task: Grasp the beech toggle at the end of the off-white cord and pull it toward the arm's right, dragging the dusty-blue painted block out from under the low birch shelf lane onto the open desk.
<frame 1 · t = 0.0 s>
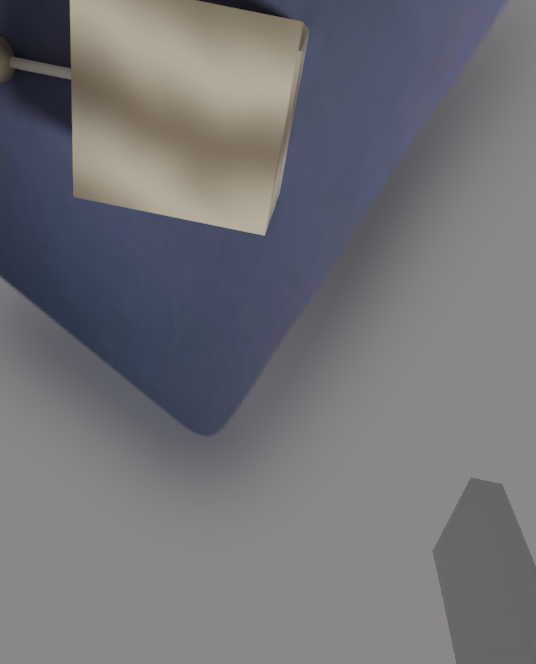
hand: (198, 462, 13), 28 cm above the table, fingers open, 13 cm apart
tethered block: (220, 103, 34), on the table, touching shelf lane
shelf lane: (214, 102, 34), on the table
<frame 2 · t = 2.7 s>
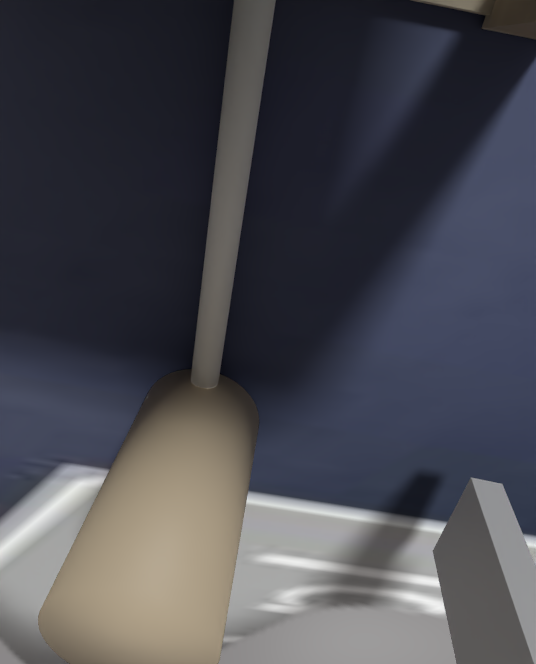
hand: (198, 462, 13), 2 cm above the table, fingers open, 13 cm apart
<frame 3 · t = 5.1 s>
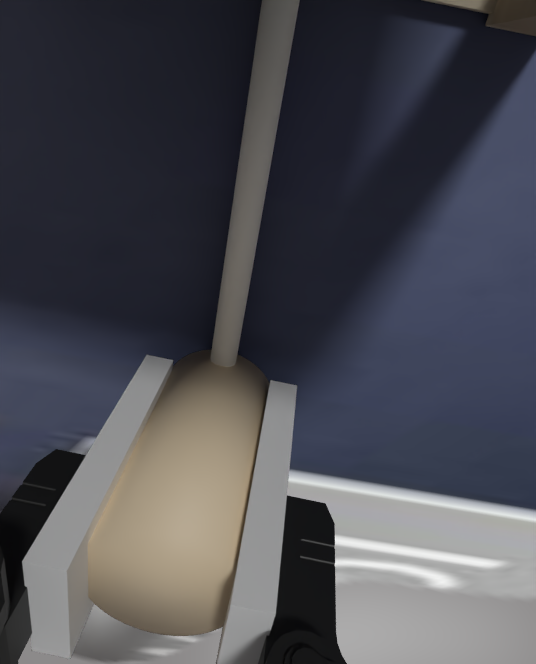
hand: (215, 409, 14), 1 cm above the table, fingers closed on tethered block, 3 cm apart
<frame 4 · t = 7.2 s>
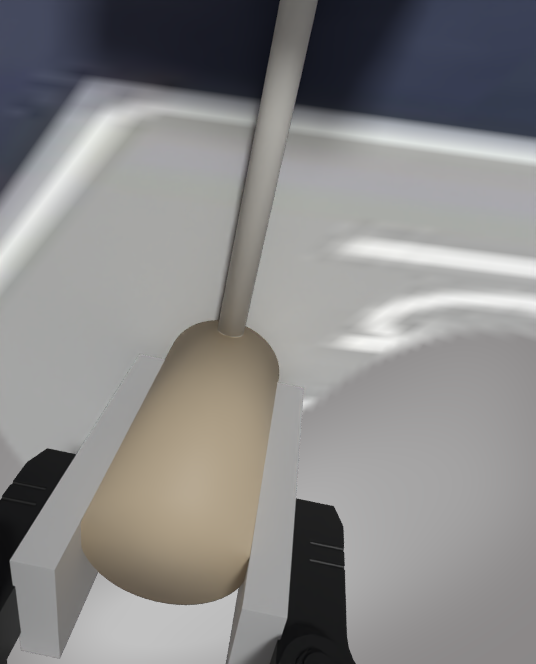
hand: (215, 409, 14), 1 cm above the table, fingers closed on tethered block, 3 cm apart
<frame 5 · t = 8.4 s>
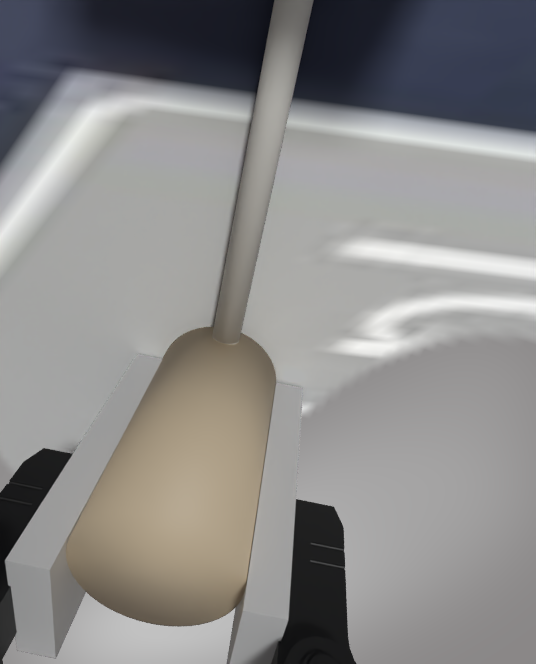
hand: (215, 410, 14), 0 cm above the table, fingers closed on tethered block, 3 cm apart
when the fingers open (0 cm above the table, at t = 9.2 s): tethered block stays where it is, on the table.
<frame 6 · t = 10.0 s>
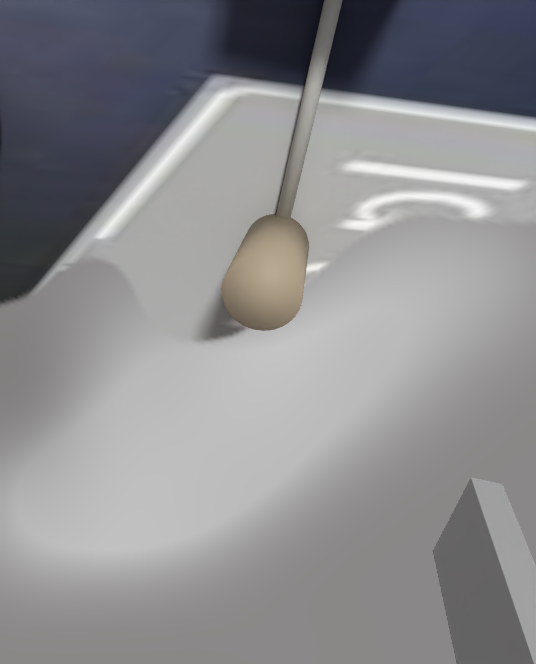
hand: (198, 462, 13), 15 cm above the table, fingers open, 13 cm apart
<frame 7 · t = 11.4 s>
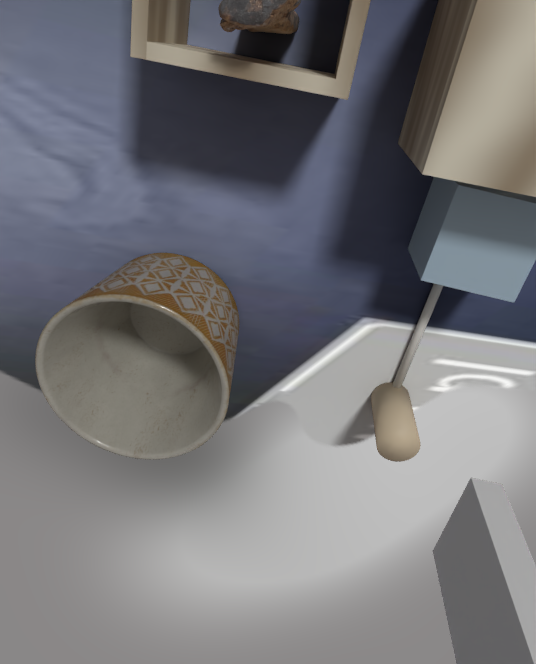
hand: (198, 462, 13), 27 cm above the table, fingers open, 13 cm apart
planter: (175, 311, 41), on the table
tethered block: (464, 218, 35), on the table
shelf lane: (508, 65, 30), on the table
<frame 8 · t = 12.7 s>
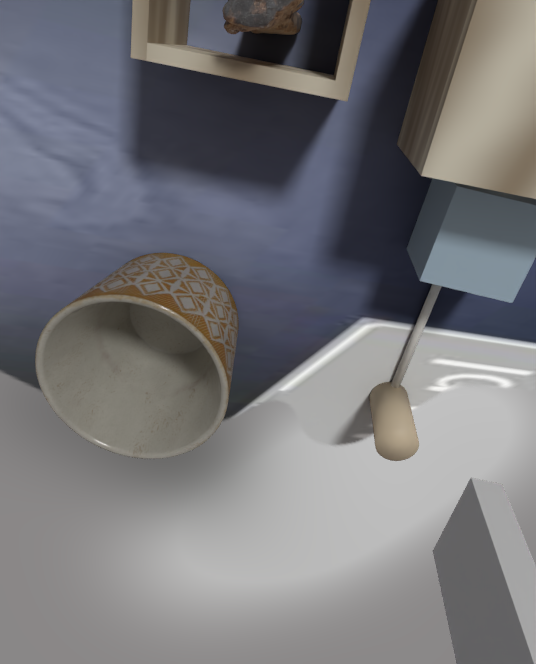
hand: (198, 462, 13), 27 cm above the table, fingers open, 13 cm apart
planter: (174, 311, 42), on the table
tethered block: (462, 219, 35), on the table
shelf lane: (507, 67, 31), on the table
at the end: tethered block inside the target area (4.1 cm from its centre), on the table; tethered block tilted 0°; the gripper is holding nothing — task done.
